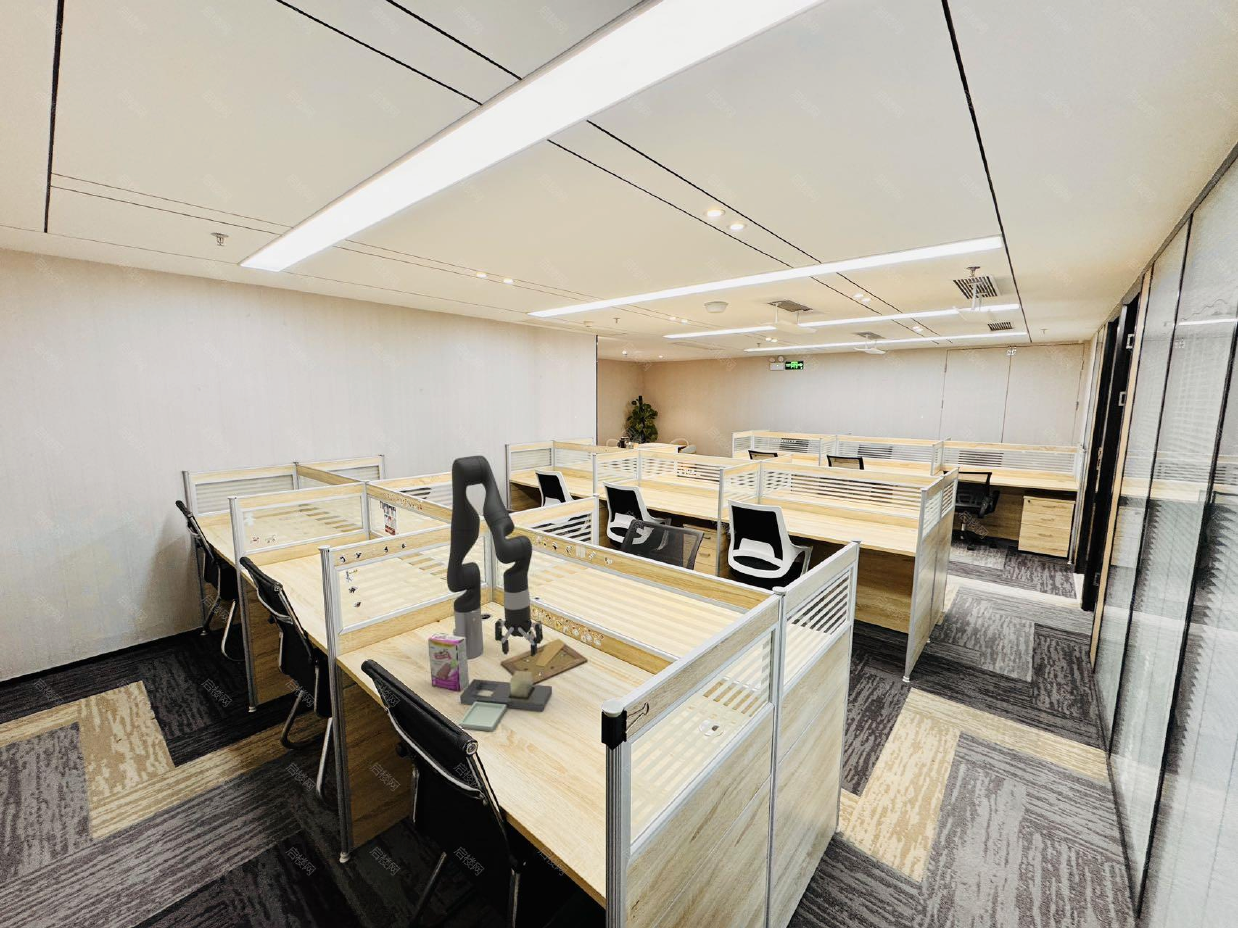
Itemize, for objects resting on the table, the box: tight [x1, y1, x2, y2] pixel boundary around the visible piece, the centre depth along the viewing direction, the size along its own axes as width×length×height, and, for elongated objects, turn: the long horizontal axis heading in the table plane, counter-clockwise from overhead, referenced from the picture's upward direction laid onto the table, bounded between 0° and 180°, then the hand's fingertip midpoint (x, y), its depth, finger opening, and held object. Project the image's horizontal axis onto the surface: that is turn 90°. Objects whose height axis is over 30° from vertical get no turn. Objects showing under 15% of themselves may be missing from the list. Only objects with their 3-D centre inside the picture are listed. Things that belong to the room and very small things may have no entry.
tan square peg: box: [509, 671, 533, 700], centre depth 154 cm, size 5×5×8 cm
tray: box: [458, 702, 508, 733], centre depth 146 cm, size 10×10×2 cm
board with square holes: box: [459, 678, 553, 713], centre depth 155 cm, size 26×9×2 cm, turn 80°
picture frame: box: [500, 638, 588, 685], centre depth 175 cm, size 19×2×24 cm
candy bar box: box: [427, 632, 470, 692], centre depth 162 cm, size 11×5×16 cm, turn 71°
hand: (519, 654), depth 152 cm, fingers open, 8 cm apart
